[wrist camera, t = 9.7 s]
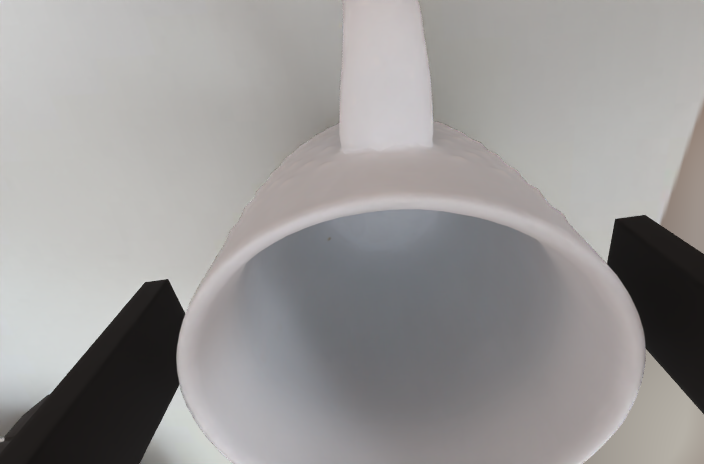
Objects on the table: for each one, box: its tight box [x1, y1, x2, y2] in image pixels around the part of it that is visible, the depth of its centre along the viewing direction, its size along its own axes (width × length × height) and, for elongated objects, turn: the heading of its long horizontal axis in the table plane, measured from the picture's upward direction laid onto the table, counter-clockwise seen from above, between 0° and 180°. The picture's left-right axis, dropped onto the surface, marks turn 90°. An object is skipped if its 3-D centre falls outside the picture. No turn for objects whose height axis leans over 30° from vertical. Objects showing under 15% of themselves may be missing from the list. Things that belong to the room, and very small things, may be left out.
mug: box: [176, 0, 646, 464], centre depth 14 cm, size 15×11×13 cm
